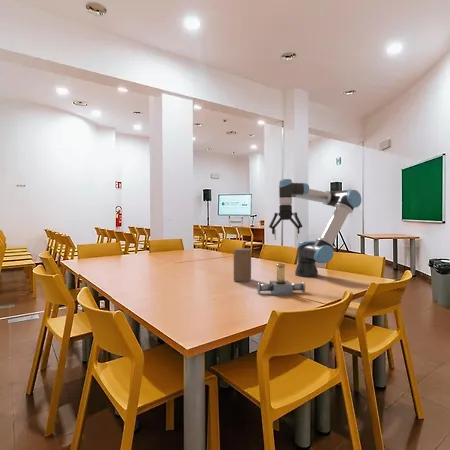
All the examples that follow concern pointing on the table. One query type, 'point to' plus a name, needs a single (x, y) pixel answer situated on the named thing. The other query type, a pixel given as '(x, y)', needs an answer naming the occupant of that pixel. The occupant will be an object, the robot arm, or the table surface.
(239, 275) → the wooden block
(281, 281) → the valve handle
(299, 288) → the valve body
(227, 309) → the table surface
